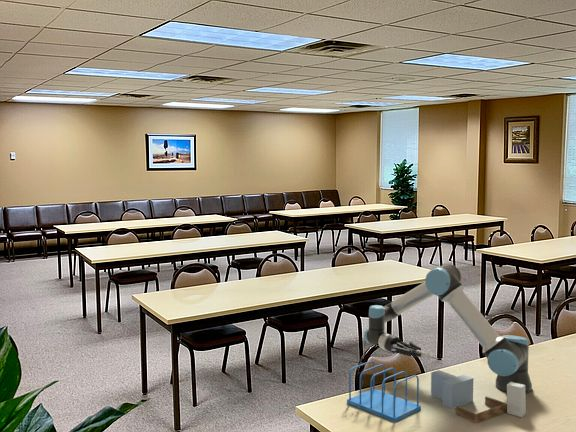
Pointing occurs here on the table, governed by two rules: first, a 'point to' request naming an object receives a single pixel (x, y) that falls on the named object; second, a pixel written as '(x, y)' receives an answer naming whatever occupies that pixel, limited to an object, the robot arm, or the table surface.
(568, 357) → the table surface
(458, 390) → the grey l-shaped block
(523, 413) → the skincare box
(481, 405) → the table surface
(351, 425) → the table surface
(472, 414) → the brown wooden tray
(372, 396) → the file sorter
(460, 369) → the table surface
